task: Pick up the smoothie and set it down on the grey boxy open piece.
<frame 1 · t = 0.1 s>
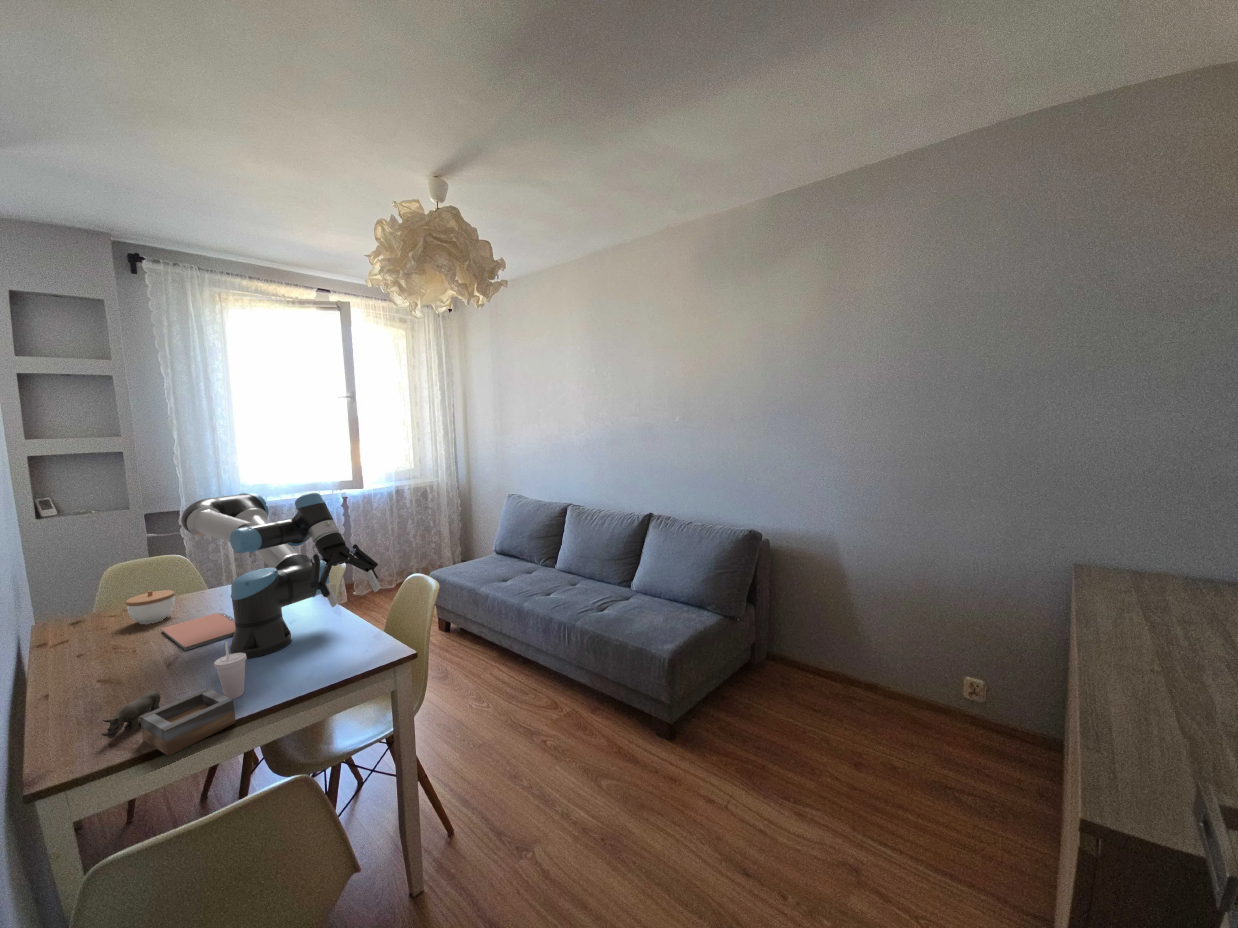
hand: (357, 597, 145), 15 cm above the table, tool tilted 35°, fingers open, 13 cm apart
lidded bowl: (153, 620, 174), on the table
notebook: (205, 633, 163), on the table
smoothie: (234, 695, 121), on the table
rhino figurine: (133, 728, 110), on the table
grey boxy open piece: (190, 731, 107), on the table
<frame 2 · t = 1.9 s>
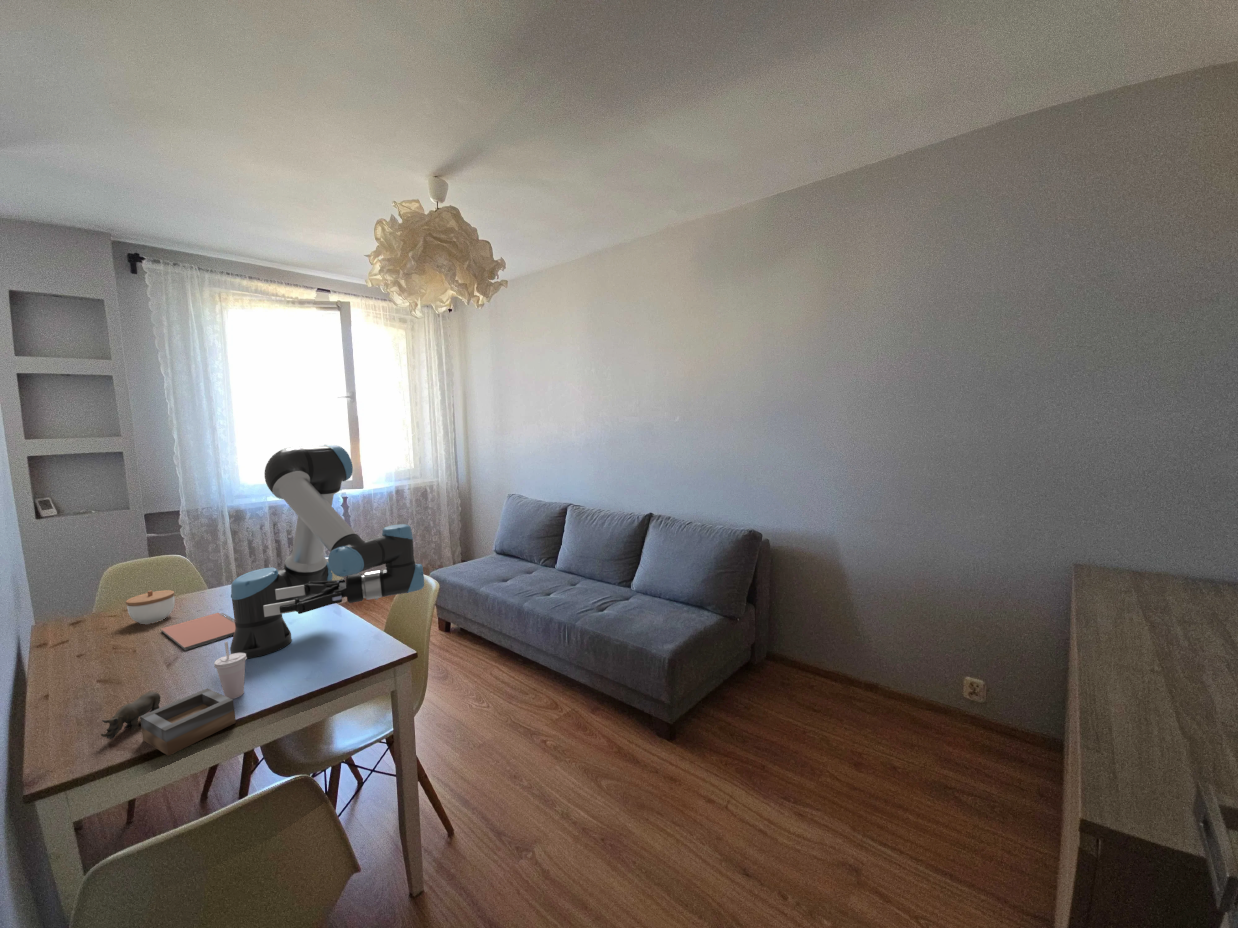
hand: (270, 602, 123), 22 cm above the table, tool horizontal, fingers open, 13 cm apart
nothing on the table moved.
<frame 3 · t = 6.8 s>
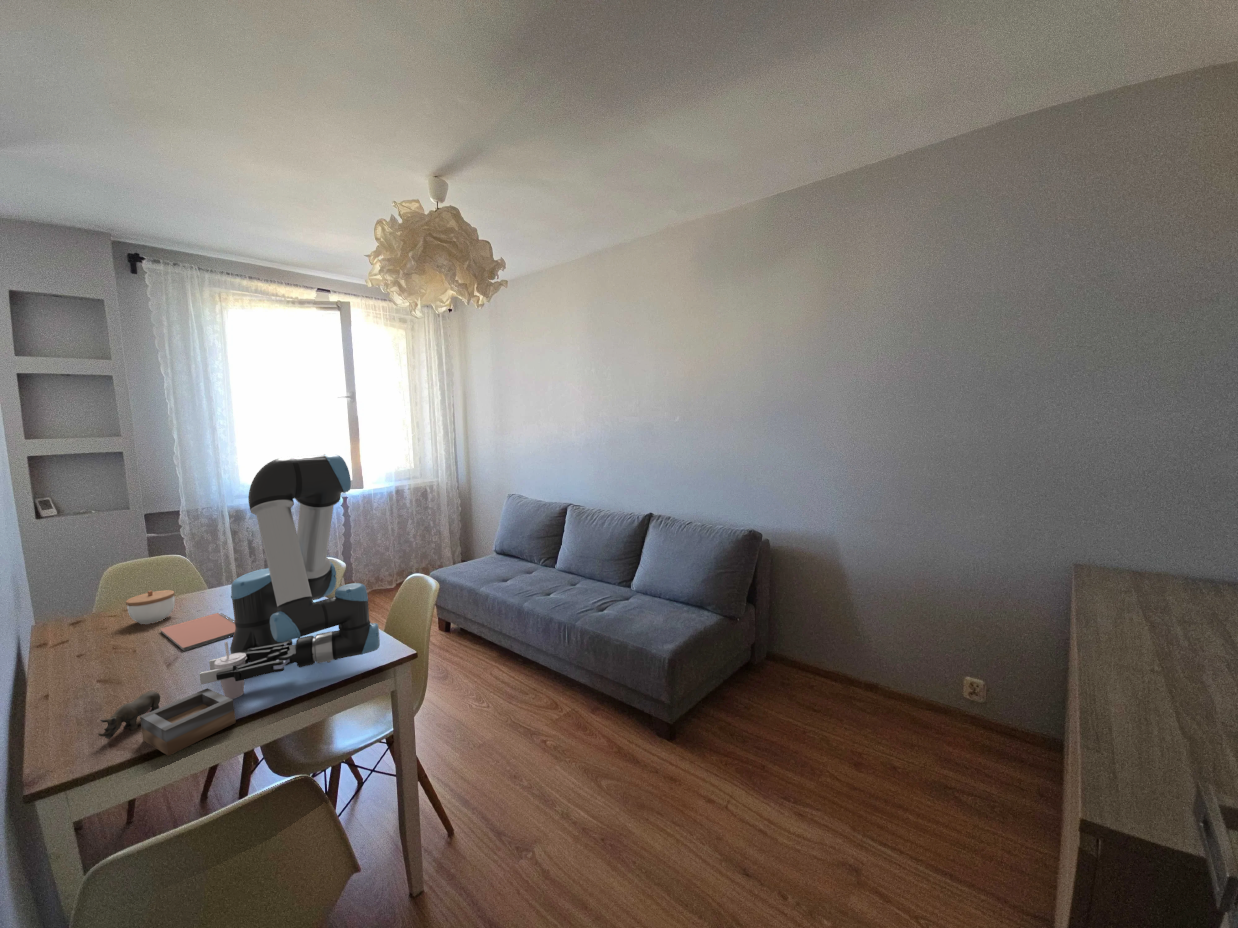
hand: (205, 671, 119), 8 cm above the table, tool horizontal, fingers closed on smoothie, 6 cm apart
smoothie: (234, 695, 121), on the table, touching gripper
everything else where it was.
when the fingers open (12 cm above the table, at t = 11.4 s): smoothie drops 1 cm, resting on grey boxy open piece.
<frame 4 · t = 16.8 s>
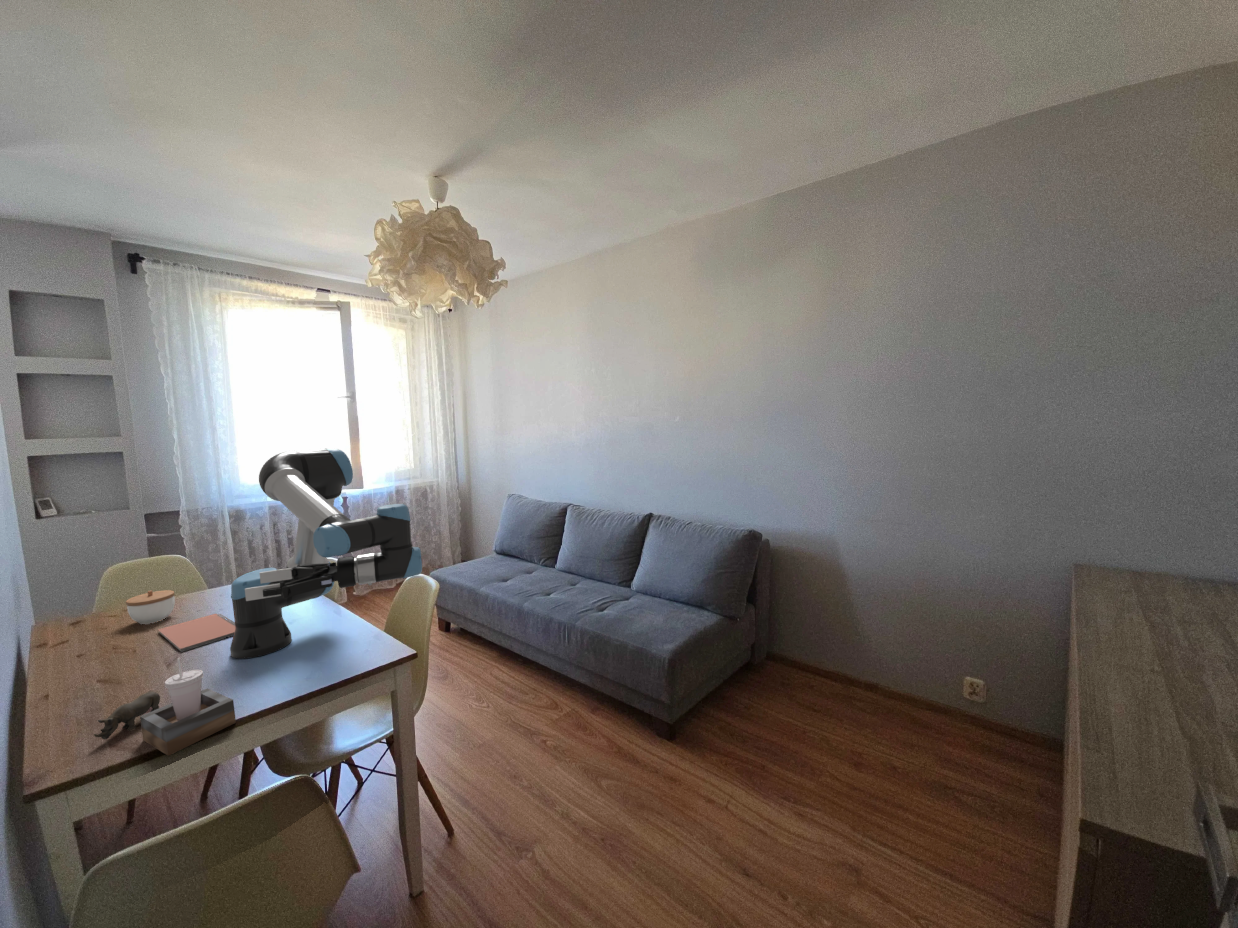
hand: (253, 585, 113), 30 cm above the table, tool horizontal, fingers open, 13 cm apart
smoothie: (189, 718, 107), point 3 cm above the table, touching grey boxy open piece
at the end: smoothie 0.0 cm off-centre on the grey boxy open piece, point 2.8 cm above the grey boxy open piece's base; smoothie tilted 0°; the gripper is holding nothing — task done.
